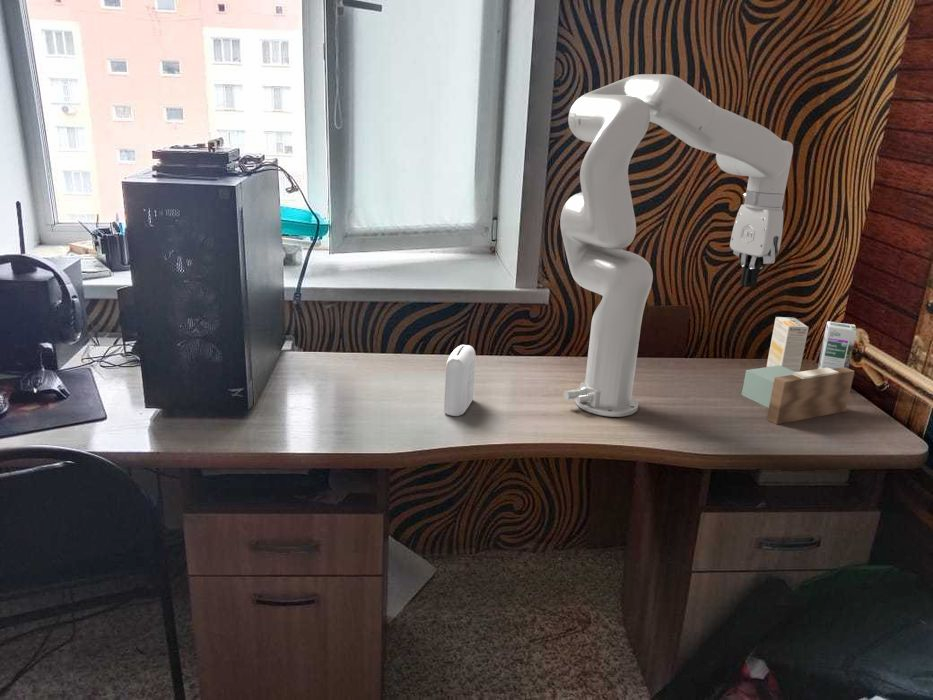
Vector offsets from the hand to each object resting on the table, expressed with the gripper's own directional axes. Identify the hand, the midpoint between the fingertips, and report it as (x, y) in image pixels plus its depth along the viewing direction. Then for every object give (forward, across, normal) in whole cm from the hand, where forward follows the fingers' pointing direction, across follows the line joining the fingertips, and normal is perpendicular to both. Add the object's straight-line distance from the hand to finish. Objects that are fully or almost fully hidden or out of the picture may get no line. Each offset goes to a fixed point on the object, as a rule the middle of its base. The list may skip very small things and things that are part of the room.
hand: (747, 285), depth 162 cm
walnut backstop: (+22, +20, +1) cm, 30 cm away
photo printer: (+23, -6, -65) cm, 69 cm away
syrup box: (+22, +9, +21) cm, 32 cm away
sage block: (+23, +13, +1) cm, 26 cm away
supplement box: (+22, 0, +16) cm, 27 cm away
